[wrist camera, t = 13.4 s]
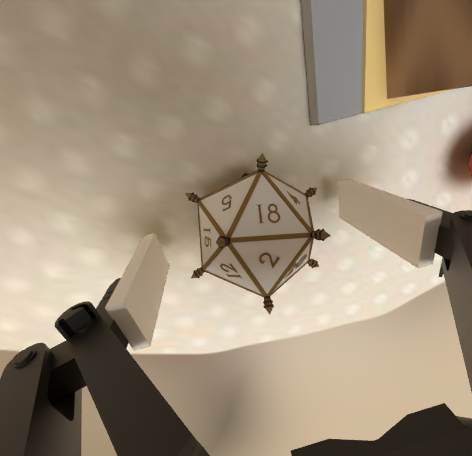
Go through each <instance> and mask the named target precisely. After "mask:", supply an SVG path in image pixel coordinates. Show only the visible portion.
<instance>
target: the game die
mask: <svg viewBox="0 0 472 456" xmlns="http://www.w3.org/2000/svg"><path fill="white" fill-rule="evenodd" d="M257 162H258V163H257V167H258V170H257V171H255V172H253V173H251V174H247V173H245V174H244V175H243V176H242V178H241V179H239V180H237V181H235V182H233V183H230V184H228V185H226V186H224V187H222V188H220V189H218V190H216V191H214V192H212V193H210V194H208V195H206V196H204V197H202V198H199V197H198V196H197V194H196V195H195V194H194V193H186V196H187V197H188V199H189V201H190V200H191V201H192V202H197V203H198V216H199V232H200V248H201V263H202V267H201V268H199V269H198V268H197V270H196V271H195V270H194V273H193V275H192V277H191V278H199V277H200V276H202V274H203V273H204V272H207V273H209V274H211V275H214V276H216V277H218V278H221V279H223V280H225V281H228V282H230V283H232V284H234V285H237V286H239V287H241V288H244V289H246V290H248V291H251V292H253V293H255V294H257V295H260V296H262V297H264V302H263V303H264V308H265V309H266V310H267V311H268V313H269V314H270V313H271V311H272V308H273V307H274V305H273V304H272V302H273V301H272V300H271V299H270V296H271V295H272V294H273V293H274V292H275V291H277V290H278V289H279V288H280V287H281V286H282V285H283V284H284V283H285V282H287V281H288V280H289V279H290V278H291V277H292V276H293V275H294V274H296V273H297V272H298V271H299V270H300V269H301V268H302V267H303V266H304V265H306V264H307V263H308V264H309V266H311V267H312V268H314V267H319V265H318V263H317V262H318V261H315V260H313V259H310V254H311V249H312V244H313V239H314V238H315V239H317V240H322V241H324V240H325V239H326V238H327V237H329V236H331V235H329V234H328V233H327V232H325V231H324V229H322V230H319V229H318V230H317V231H314V228H313V223H312V218H311V213H310V208H309V202H308V197H312V195H315V192H316V189H317V188H309V190H307V191H306V193H302V192H301V191H299V190H297V189H295V188H294V187H292V186H290V185H288V184H286V183H285V182H283V181H281V180H279V179H278V178H276V177H274V176H272V175H271V174H269V173H267V172H265V170H264V169H265V167H266V166H267V165H266V162H268V161H267V160H266V159H265V157H264V155H263V153H262V155H261V156H260V158H259V159H257Z"/></svg>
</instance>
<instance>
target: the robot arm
mask: <svg viewBox="0 0 472 456" xmlns="http://www.w3.org/2000/svg"><path fill="white" fill-rule="evenodd" d="M338 190H339V217H340V218H341V219H343V220H344V221H346V222H347V223H349V224H350V225H352V226H353V227H355V228H357V229H358V230H360V231H361V232H363V233H364V234H366V235H367V236H369V237H370V238H372V239H374V240H375V241H377V242H378V243H380V244H381V245H383V246H384V247H386V248H387V249H389V250H391V251H392V252H394V253H395V254H397V255H398V256H400V257H401V258H403V259H404V260H406V261H408V262H409V263H411V264H412V265H414V266H415V267H417V268H420V267H423V266H427V265H430V264H433V260H434V255H435V253H437V254H439V255H440V256H442V257H443V259H442V263H441V268H440V273H439V277H442V275H443V274H444V277H445V281H446V286H447V289H448V293H449V298H450V302H451V307H452V311H453V315H454V319H455V323H456V328H457V332H458V336H459V340H460V345H461V349H462V353H463V357H464V361H465V366H466V370H467V374H468V378H469V383H470V387H471V391H472V211H470V210H467V211H458V212H455V213H450V212H447V211H444V210H441V209H438V208H436V207H433V206H429V205H427V204H424V203H423V204H422V203H421V202H418V201H415V200H411V199H405V198H402V197H399V196H396V195H393V194H390V193H387V192H385V191H382V190H379V189H376V188H373V187H370V186H367V185H364V184H361V183H358V182H356V181H353V180H350V179H347V180H344V181H340V182H338ZM169 266H170V265H169V263H168V261H167V259H166V256H165V254H164V252H163V250H162V248H161V245H160V243H159V241H158V239H157V237H156V234H155V233H153V234H149V235H146V236H144V237H143V239H142V240H141V242H140V244H139V246H138V248H137V250H136V251H135V253H134V255H133V257H132V259H131V261H130V262H129V264H128V266H127V268H126V270H125V272H124V274H123V275H122V277H121V278H119V279H116V280H115V281H114V282H113V283H112V284H111V285H110V286H109V288H108V290H107V291H106V294H105V295H104V296H103V298H102V300H101V301H100V303H99V305H98V307H97V308H96V309H95V307H94V306H93V304H92V303H91V302H82V303H79V304H76V305H75V306H73V307H71V308H69V309H68V310H67V311H65V312H64V313H63V314H62V315H61V316H60V317H59V318H58V319H57V321H56V322H55V327H56V329H57V330H58V331H59V332H60V333H61V334H62V335H63V337H64V338H65V339H66V340H67V341H65V342H63V343H61V344H59V345H57V346H55V347H53V348H51V349H49V348H48V347H47V346H46V344H44V343H37V344H34V345H32V346H30V347H28V348H26V349H25V350H22V351H21V352H20V353H18V355H16V356H15V357H14V358H13V359H12V360H11V361H10V362H9V363H8V364H7V366H6V367H5V369H4V371H3V373H2V376H1V379H0V456H81V397H82V396H81V395H82V390H81V389H82V388H83V387H85V386H86V385H87V387H88V389H89V392H90V394H91V396H92V399H93V401H94V403H95V405H96V408H97V410H98V412H99V415H100V417H101V419H102V421H103V424H104V426H105V428H106V430H107V433H108V435H109V437H110V440H111V442H112V444H113V446H114V449H115V451H116V453H117V455H118V456H210V455H209V454H208V453H207V452H206V450H205V449H204V448H203V447H202V445H201V444H200V443H199V442H198V441H197V440H196V439H195V438H194V436H193V435H192V434H191V432H190V431H189V430H188V428H187V427H186V426H185V425H184V423H183V422H182V421H181V419H180V418H179V417H178V416H177V414H176V413H175V412H174V410H173V409H172V408H171V406H170V405H169V404H168V403H167V401H166V400H165V399H164V397H163V396H162V395H161V394H160V392H159V391H158V390H157V389H156V387H155V386H154V384H153V383H152V382H151V381H150V379H149V378H148V377H147V375H146V374H145V373H144V372H143V370H142V369H141V368H140V366H139V365H138V364H137V362H136V361H135V360H134V359H133V357H132V356H131V355H130V353H129V352H128V351H127V349H126V348H127V345H128V343H129V344H130V346H131V347H132V348H133V350H134V351H135V350H138V349H142V348H145V347H149V346H150V345H151V341H152V337H153V332H154V328H155V324H156V320H157V316H158V311H159V307H160V303H161V299H162V295H163V291H164V286H165V282H166V278H167V274H168V270H169ZM291 454H292V456H472V419H470V418H464V417H458V416H455V415H454V414H453V412H452V411H451V410H450V409H449V408H448V407H447V406H446V404H445V403H444V404H440V405H437V406H434V407H431V408H428V409H424V410H421V411H418V412H415V413H411V414H408V415H406V416H405V417H404V418H403V419H402V420H400V421H399V422H398V423H397V424H396V425H395V426H393V427H392V428H391V429H390V430H389V431H387V432H386V433H385V434H384V435H383V436H382V437H380V438H379V439H377V440H375V441H362V440H341V439H327V440H324V441H321V442H317V443H314V444H311V445H308V446H305V447H302V448H298V449H295V450H292V451H291Z"/></svg>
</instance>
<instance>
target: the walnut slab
mask: <svg viewBox="0 0 472 456" xmlns="http://www.w3.org/2000/svg"><path fill="white" fill-rule="evenodd" d="M384 27H385V55H386V83H387V99H390V98H397V97H403V96H410V95H416V94H423V93H430V92H436V91H443V90H449V89H456V88H462V87H469V86H472V0H384Z"/></svg>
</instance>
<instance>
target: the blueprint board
mask: <svg viewBox="0 0 472 456" xmlns="http://www.w3.org/2000/svg"><path fill="white" fill-rule="evenodd" d="M301 8H302V21H303V34H304V46H305V59H306V72H307V85H308V97H309V110H310V123H311V125H320V124H324V123H327V122H331V121H335V120H338V119H342V118H346V117H350V116H353V115H357V114H361V113H366V112H370V111H374V110H377V109H381V108H385V107H389V106H392V105H396V104H400V103H403V102H407V101H411V100H415V99H418V98H422V97H426V96H429V95H433V94H437V93H440V92H444V91H448V90H443V91H436V92H430V93H423V94H416V95H410V96H403V97H397V98H390V99H387V83H386V55H385V27H384V0H301ZM449 90H452V89H449Z"/></svg>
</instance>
